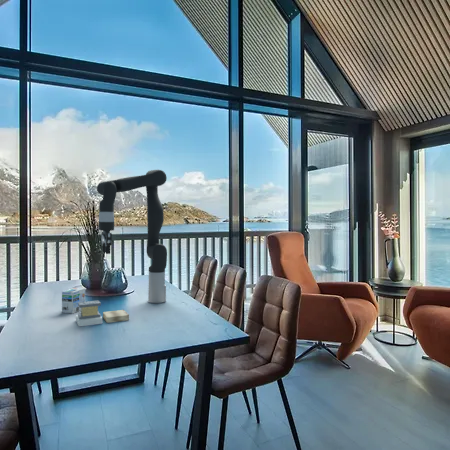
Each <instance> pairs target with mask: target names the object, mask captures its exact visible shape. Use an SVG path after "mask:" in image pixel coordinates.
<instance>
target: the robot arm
mask: <svg viewBox="0 0 450 450" xmlns="http://www.w3.org/2000/svg"><path fill="white" fill-rule="evenodd" d="M166 181H167V174H166V172H165V171H164V170H162V169H151V170H148V171H147V172H146V174H141V175H136V176H135V175H134V176H127V177H122V178H118V179H113V180H105V181H101V182H100V183H98V184H97V186H96V191H97V193H98V194H99V195H100V196H102V200H100V201H99V205H98V207H99V209H98V210H99V211H98V231H101V232H100V233H101V234H100V236H101V237H100V238H101V239H100V241H101V242H100V243H101V246H102V249H101V250H102V253H105V254H107V255H110V254H111V247H112V245H113V243H112V242H113V241H112V240H113V237H112V235H113V234H112V232H111V231H115V201H116V197H117V193H124V192H128V191H129V192H130V191H133V190H136V189H140V188H144V187H145V190H146V212H147V214H146V219H147V220H146V221H147V239H146V255H147V257H148V258H150V259H151V260H152V261H151V262H152V263H151V265H150V266H149V267H148V285H147V286H148V288H147V289H148V290H147V291H148V298H147V301H148V303H151V304H161V303H165V302H167V285H166V267H167V261H168V249H167V247H166V246H165V245H164V244H162V243H160V232H161V229H162V228H163V224H164V219H165V218H164V215H165V213H164V207H163V204H162V202H161V200H160V197H159V192H158V190H159V189H158V187H160V186H163V185H165V184H166Z"/></svg>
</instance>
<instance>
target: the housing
mask: <svg viewBox="0 0 450 450" xmlns="http://www.w3.org/2000/svg"><path fill="white" fill-rule="evenodd" d="M101 305H102V302H101V301H100V300H89V301H85V302H78V306H79V307H80V308H81V310H80V313H77V315H78V317H79V319H87V318H95V317H102V315H101V313H100V312H99V310H98V309H99V306H101Z"/></svg>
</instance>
